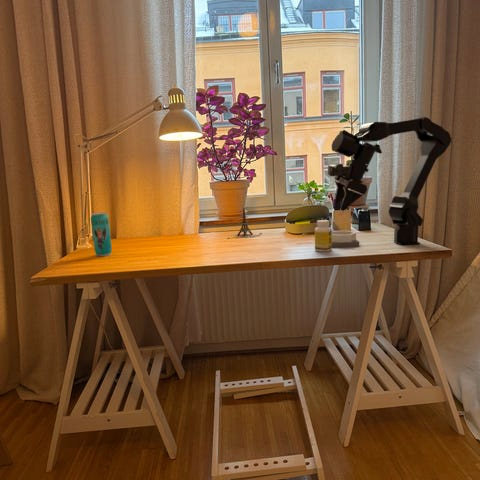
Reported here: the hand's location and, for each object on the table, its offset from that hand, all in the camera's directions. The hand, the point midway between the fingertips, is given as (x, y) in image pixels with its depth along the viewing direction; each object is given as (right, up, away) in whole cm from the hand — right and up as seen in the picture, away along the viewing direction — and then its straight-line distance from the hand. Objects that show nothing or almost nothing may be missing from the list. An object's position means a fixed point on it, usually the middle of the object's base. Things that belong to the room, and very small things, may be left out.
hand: (338, 207), depth 129 cm
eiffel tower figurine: (-30, -10, +37) cm, 49 cm away
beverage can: (-81, -16, +12) cm, 83 cm away
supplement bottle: (-5, -14, +1) cm, 15 cm away
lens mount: (+3, -12, +9) cm, 15 cm away
